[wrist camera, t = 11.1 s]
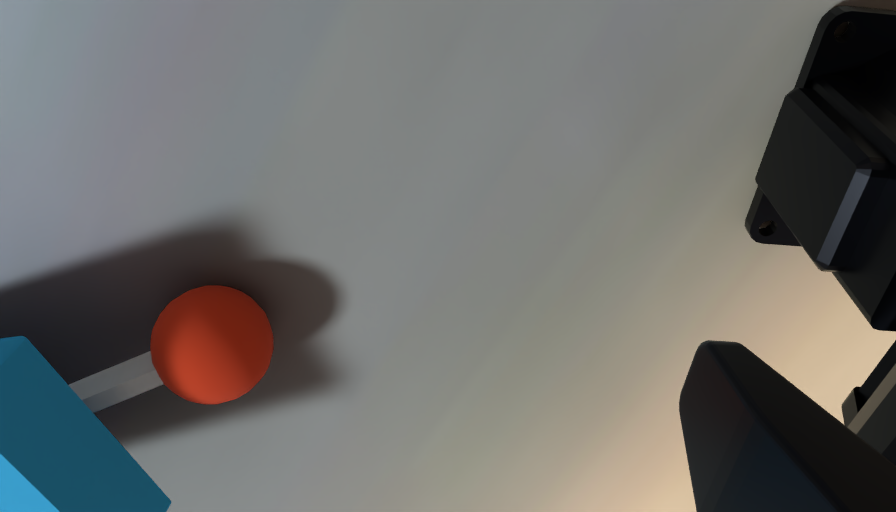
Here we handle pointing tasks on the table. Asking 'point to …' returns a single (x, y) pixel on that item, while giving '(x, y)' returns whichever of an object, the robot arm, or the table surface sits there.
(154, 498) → the lever
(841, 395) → the table surface
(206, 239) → the table surface
